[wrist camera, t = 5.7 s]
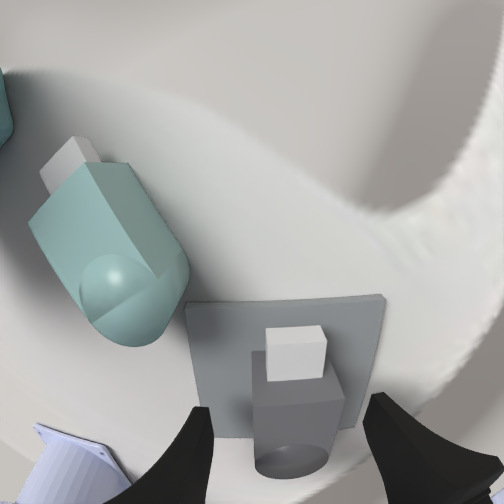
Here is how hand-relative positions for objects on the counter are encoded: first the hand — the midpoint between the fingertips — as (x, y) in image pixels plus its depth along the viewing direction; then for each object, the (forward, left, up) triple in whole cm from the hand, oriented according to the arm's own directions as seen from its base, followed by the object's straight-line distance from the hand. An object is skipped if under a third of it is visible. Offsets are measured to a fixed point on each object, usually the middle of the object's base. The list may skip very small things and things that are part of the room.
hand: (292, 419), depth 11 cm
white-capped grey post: (0, 0, -2) cm, 2 cm away
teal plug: (+8, +7, -3) cm, 11 cm away
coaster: (0, 0, -3) cm, 3 cm away
